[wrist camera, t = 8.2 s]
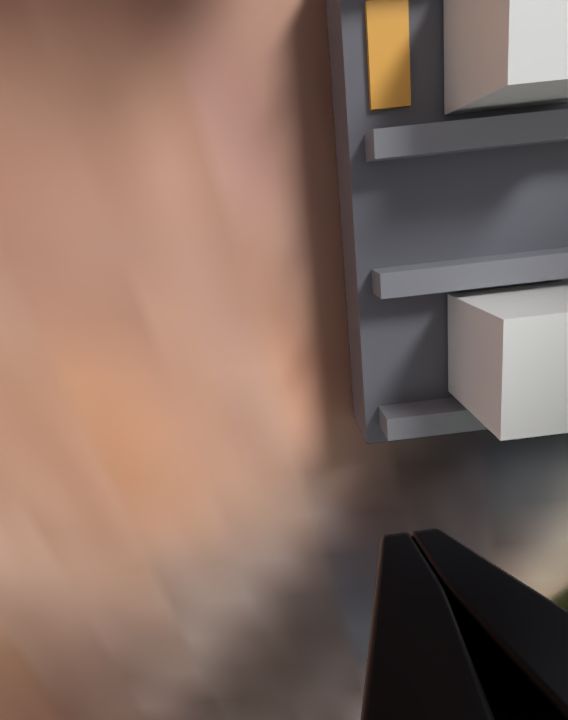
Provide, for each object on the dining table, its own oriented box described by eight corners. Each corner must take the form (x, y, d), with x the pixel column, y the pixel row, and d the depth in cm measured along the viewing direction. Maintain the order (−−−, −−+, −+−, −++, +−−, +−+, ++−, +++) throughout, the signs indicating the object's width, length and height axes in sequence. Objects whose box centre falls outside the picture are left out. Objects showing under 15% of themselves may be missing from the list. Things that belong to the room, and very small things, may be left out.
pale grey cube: (564, 280, 17) (653, 302, 13) (558, 377, 18) (639, 424, 14) (447, 294, 17) (503, 319, 13) (448, 390, 18) (500, 441, 14)
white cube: (581, -34, 14) (699, -120, 11) (573, 101, 15) (678, 67, 12) (443, -21, 14) (511, -102, 10) (444, 115, 15) (507, 85, 12)
